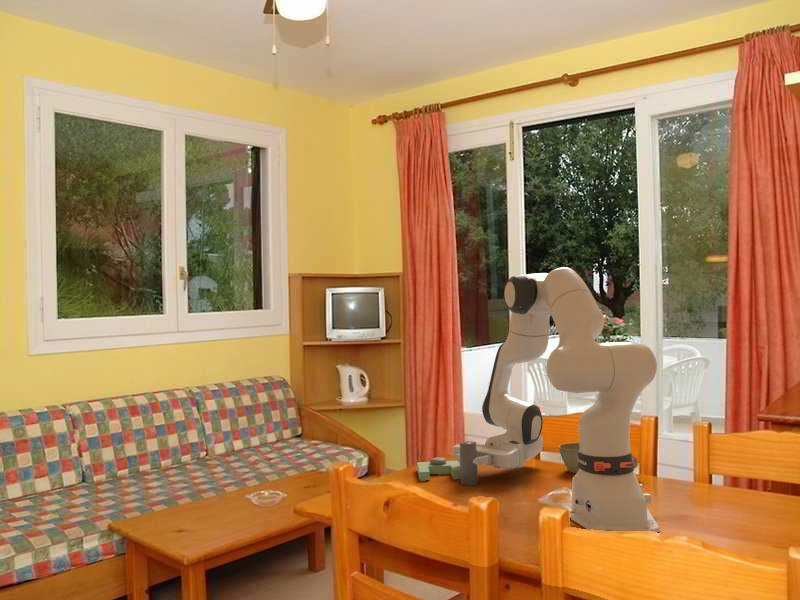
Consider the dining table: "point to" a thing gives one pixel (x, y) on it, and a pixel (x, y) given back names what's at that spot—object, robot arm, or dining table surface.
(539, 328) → the robot arm
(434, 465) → the green footed base
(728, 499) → the dining table surface
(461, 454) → the grey tall cylinder
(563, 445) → the flower pot
